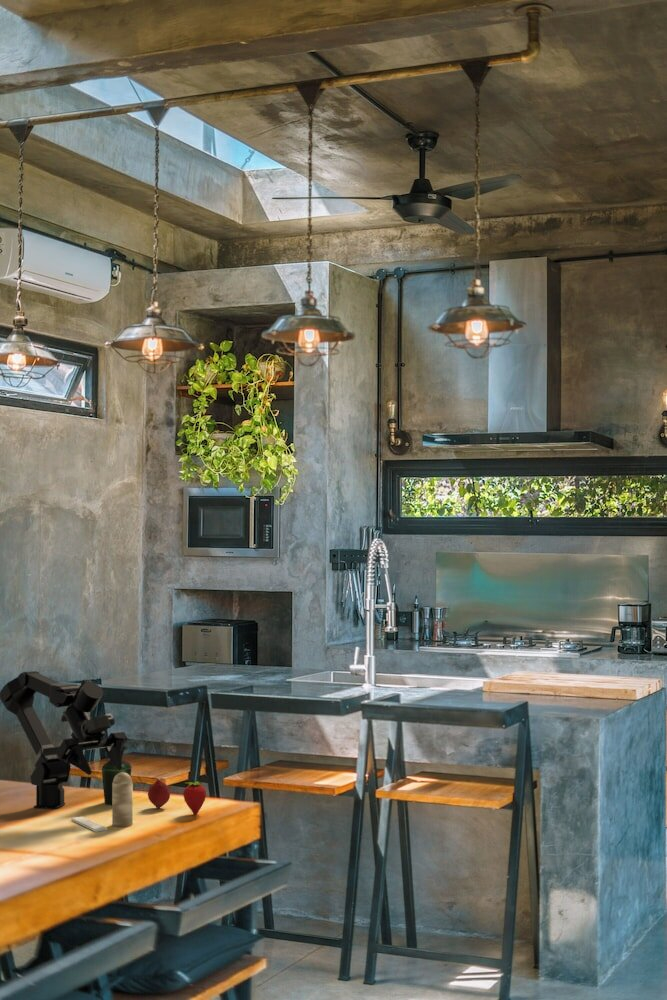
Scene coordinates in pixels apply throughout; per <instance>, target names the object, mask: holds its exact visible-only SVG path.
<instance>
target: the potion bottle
mask: <svg viewBox="0 0 667 1000" xmlns="http://www.w3.org/2000/svg"><path fill="white" fill-rule="evenodd" d="M126 750H128V746H127V744H126V743H125V744H124V746H123V747H122V749H121V762H122V769H121V770H118V769H117V768H116V767H115V765H114V764H113V763H112V761H111V760H110V759H109V760H108V761H106V762H104V763H103V765H102V767H101V774H102V775H101V776H102V787H103V796H104V797H103V799H104V803H105V805H110V806H112V783H113V780H114V777H115V776H116V775H117V774H118V773H121V772H125V773H127V774H129V775H130V777H131V778H132V765H131V763H129V762H128V761H127V760H125V759H123V756H124V751H126Z"/></svg>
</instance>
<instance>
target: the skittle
mask: <svg viewBox="0 0 667 1000" xmlns="http://www.w3.org/2000/svg"><path fill="white" fill-rule="evenodd" d="M133 788H134V787H133V779H132V776H131V777H130V775H129V774H127V773H125V772H121V773H118V774H117V775H116V776H115V777H114V780H113V783H112V805H111V806H112V812H111V813H112V816H111V817H112V821H111V822H112V823H111V825H112V827H115V828H127V827H128V828H129V827H131V826H133V823H134V822H133V818H134V817H133V816H134V813H133V812H134V811H133V807H134V806H133V805H134V804H133V803H134V802H133V801H134V800H133V797H134V795H133V792H134V791H133V790H134V789H133Z"/></svg>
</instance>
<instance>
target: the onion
mask: <svg viewBox="0 0 667 1000" xmlns="http://www.w3.org/2000/svg"><path fill="white" fill-rule="evenodd" d="M170 797H171V790H170V788H169V786H168V785H167V784H166V783H165V782H164V781H162V780H161V779H160V777H156V781H155V782H153V784H151V785H150V787H149V788H148V791H147V798H148V800H149V802H150V803H151V804H153V806H154V807H156V808H157V809H161V808H162V807H163V806H164V805H166V804H167V803H168V802H169V800H170ZM160 807H161V808H160Z"/></svg>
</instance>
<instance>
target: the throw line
mask: <svg viewBox="0 0 667 1000" xmlns="http://www.w3.org/2000/svg"><path fill="white" fill-rule="evenodd" d="M70 820H71V821H72V822H74V823H76V824H79V825H80V826H83V827H84V828H87V829H89V830H91V831H93V832H96V833H97V832H104V831H108V827H106V826H104V825H102V824H100V823H98V822H95V821H93V820H91V819H90V818H87V817H85V816H75V817H71V818H70Z"/></svg>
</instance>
